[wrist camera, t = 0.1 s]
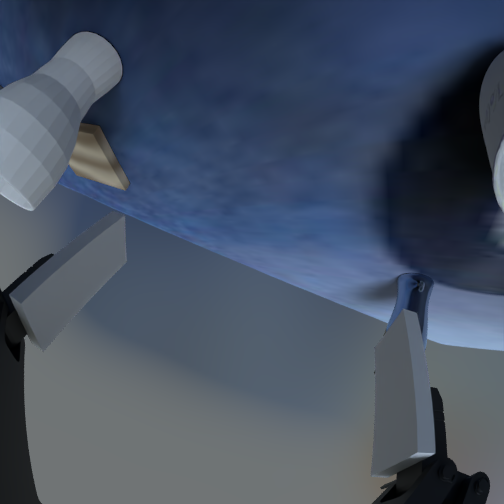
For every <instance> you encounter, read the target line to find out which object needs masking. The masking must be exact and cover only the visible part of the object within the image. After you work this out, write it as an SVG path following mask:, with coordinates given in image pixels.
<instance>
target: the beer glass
mask: <svg viewBox="0 0 504 504" xmlns="http://www.w3.org/2000/svg"><path fill="white" fill-rule="evenodd" d="M433 287H434V281H433V280H432V279H431V278H429V277H428V276H425V275H422V274H417V273H406V274H403V275H401V276H399V277H398V282H397V300H396V304H395V307H394V310H393V313H392V315H391V318H390V320H389V322H388V325H387V327H386V330H385V333H386V332H387V331H388V329H389V328H390V326H391V325H392V324H393V322H394V321H395V319H396V318H397V317H398V315H399V314H400V312H401V311H402V310H403V309H406V310H409V311H412V312H415V313H417V316H418V320H419V325H420V330H421V334H422V339H423V345H424V350H426V344H427V331H428V305H429V300H430V296H431V293H432V290H433ZM385 333H384V335H385ZM384 335H383V336H384ZM374 374H375V372H374Z"/></svg>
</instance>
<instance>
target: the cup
mask: <svg viewBox="0 0 504 504" xmlns="http://www.w3.org/2000/svg"><path fill="white" fill-rule="evenodd" d="M121 77H122V64H121V60H120V57H119V55H118V53H117V51H116V50H115V49H114V48H113V46H112V45H111V44H110V43H109V42H108V41H107V40H105V39H104V38H103V37H101V36H99V35H97V34H95V33H91V32H80V33H77V34H75V35H74V36H73V37H71V38H70V39H69V40H68V41H67V42H66V43H65V44H64V45H63V46H62V47H61V49H60V50H59V51H58V52H57V53H56V55H55V56H54V57H53V58H52V59H51V61H49V62H48V63H46V64H45V65H44V66H42V67H41V68H40V69H38V70H37V71H36V72H35V73H33V74H32V75H30V76H28V77H25V78H23V79H20V80H18V81H15V82H13V83H11V84H9V85H7V86H6V87H4V88H3V89H1V90H0V194H1V195H3V196H4V197H6V198H7V199H8V200H10V201H12V202H13V203H15V204H17V205H18V206H20V207H22V208H24V209H26V210H29V211H33V210H34V209H35V208H36V207H37V206H38V205H39V203H40V202H41V201H42V200H43V199H44V198H45V197H46V196H47V195H48V194H49V193H50V191H51V190H52V189H53V188H54V187H55V185H56V184H57V182H58V181H59V179H60V178H61V176H62V174H63V173H64V171H65V170H66V168H67V166H68V163H69V161H70V158H71V155H72V153H73V150H74V147H75V145H76V140H77V136H78V131H79V127H80V122H81V121H82V119H83V117H84V116H85V114H86V113H87V111H88V110H89V108H90V107H91V105H92V104H93V103H94V102H95V101H97V100H98V99H99V98H100V97H102V96H103V95H104V94H106V93H107V92H108V91H109V90H111V89H112V88H113V87H114V86H115V85H116V84H117V83H118V82H119V81H120V79H121Z"/></svg>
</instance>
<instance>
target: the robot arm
mask: <svg viewBox="0 0 504 504" xmlns="http://www.w3.org/2000/svg"><path fill="white" fill-rule="evenodd" d="M126 262H127V258H126V237H125V215H123V214H120V213H117V212H114V211H112V212H110V213H109V214H108V215H106V216H105V217H103V218H102V219H100V220H99V221H98V222H96V223H95V224H94V225H92V226H91V227H90V228H88V229H87V230H86V231H84V232H83V233H82V234H80V235H79V236H78V237H76V238H75V239H74V240H73V241H71V242H70V243H69V244H68V245H66V246H65V247H64V248H62V249H61V250H60V251H59V252H57V253H56V254H55V255H54V254H49V255H47V256H45V257H43V258H41V259H40V260H38V261H37V262H36V263H35V264H34V265H33V267H30V268H29V269H28V270H27V272H24V273H23V274H22V275H21V276H20V277H19V278H17V279H16V280H15V281H14V282H13V283H12V284H11V285H10V286H8V287H7V288H6V289H5V290H4V291H3V292H2V291H1V289H0V504H42V503H41V502H40V501H39V499H38V496H37V492H36V488H35V484H34V479H33V474H32V469H31V462H30V456H29V449H28V441H27V432H26V421H25V407H24V406H25V405H24V354H25V341H24V337H25V336H26V335H28V337H29V339H30V341H31V343H32V344H34V345H35V346H36V347H38V348H39V349H40V350H42V351H44V350H46V348H47V347H48V346H49V345H50V344H51V342H52V341H53V340H54V339H55V338H56V337H57V335H58V334H59V333H60V332H61V331H62V330H63V329H64V327H65V326H66V325H67V324H68V323H69V322H70V321H71V320H72V319H73V317H74V316H75V315H76V314H77V313H78V312H79V311H80V310H81V308H83V306H84V305H85V304H86V303H87V302H88V301H89V300H90V299H91V298H92V297H93V296H94V295H95V294H96V292H98V290H99V289H100V288H101V287H102V286H103V285H104V284H105V283H106V282H107V281H108V280H109V279H110V278H111V277H112V276H113V275H114V274H115V273H116V272H117V271H118V270H119V269H120V268H121V267H122V266H123V265H124V264H125V263H126ZM443 411H444V410H443V402H442V398H441V396H440V394H439V391H438V389H437V388H433V387H430V382H429V375H428V368H427V362H426V356H425V350H424V345H423V339H422V334H421V330H420V325H419V320H418V316H417V313H415V312H412V311H409V310H406V309H403V310H402V311H401V312H400V314H399V315H398V317H397V318H396V319H395V321H394V322H393V324H392V325H391V326H390V328H389V329H388V331H387V332H386V333H385V335H384V336H383V337H382V339H381V340H380V341H379V343H378V344H377V345H376V346H375V424H374V425H375V426H374V443H373V458H372V467H371V476H373V477H390V476H392V475H394V474H396V473H397V480H394V481H392V482H390V483H387V484H385V485H383V486H382V487H381V489H384V488H387V487H388V488H387V489H386V490H385V491H384V492H383V493H382V494H381V495H380V496H379V497H378V498H377V499H376V500H375V501H374V502H373V503H372V504H485V503H486V500H487V497H488V494H489V489H490V481H489V478H488V476H487V475H486V474H485V473H484V472H477V473H475V474H473V475H471V476H469V475H466V474H464V473H461V472H459V471H457V467H456V465H455V463H454V462H453V460H451V459H450V458H448V457H447V444H446V432H445V422H444V413H443Z"/></svg>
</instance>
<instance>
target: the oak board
mask: <svg viewBox="0 0 504 504" xmlns="http://www.w3.org/2000/svg"><path fill="white" fill-rule="evenodd" d="M68 164H69V165H70V167H71V168H72V169H73V171H74V172H75V173H76V175H77V176H81V177H84V178H87V179H90V180H94V181H97V182H100V183H103V184H106V185H110V186H113V187H116V188H119V189H122V190H126V189H127V188H128V186H129V184H130V182H129V180H128V178H127V177H126V175H125V173H124V171H123V169H122V168H121V166H120V164H119V162H118V160H117V158H116V157H115V155H114V153H113V151H112V149H111V147H110V145H109V143H108V141H107V139H106V138H105V136H104V134H103V132H102V130H101V128H100V126H98V125H91V124H85V123H80V127H79V131H78V136H77V140H76V145H75V147H74V150H73V153H72V155H71V158H70V161H69V163H68Z"/></svg>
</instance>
